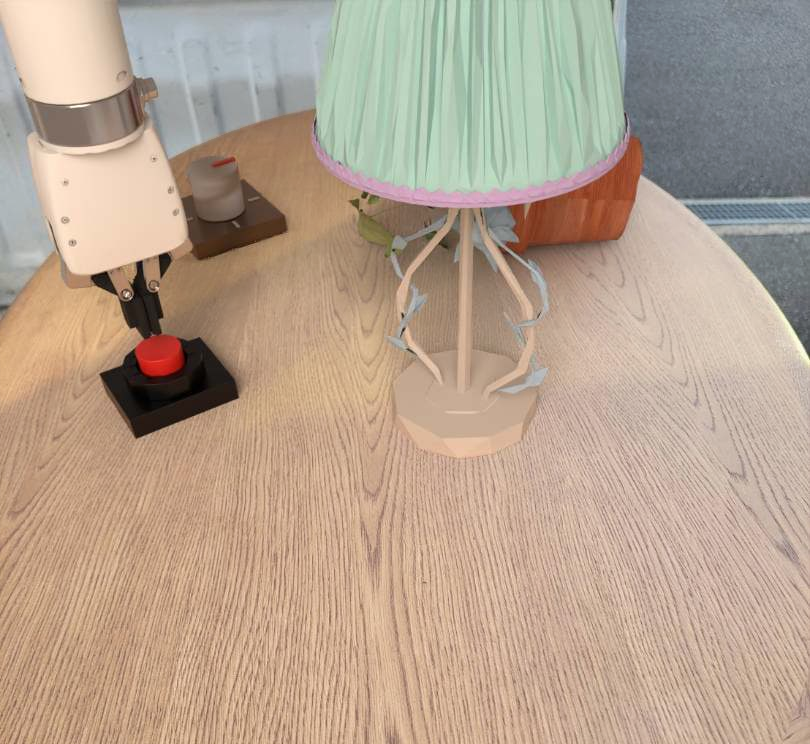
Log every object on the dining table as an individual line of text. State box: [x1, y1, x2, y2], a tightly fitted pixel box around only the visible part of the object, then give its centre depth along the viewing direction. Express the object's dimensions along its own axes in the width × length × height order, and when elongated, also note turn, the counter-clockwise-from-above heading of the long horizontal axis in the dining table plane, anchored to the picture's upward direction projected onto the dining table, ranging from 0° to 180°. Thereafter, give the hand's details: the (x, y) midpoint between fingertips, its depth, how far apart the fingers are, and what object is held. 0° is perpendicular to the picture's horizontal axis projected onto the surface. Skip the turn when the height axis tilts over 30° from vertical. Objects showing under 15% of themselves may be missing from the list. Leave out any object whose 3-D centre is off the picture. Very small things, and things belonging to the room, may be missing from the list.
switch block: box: [99, 336, 240, 440], centre depth 79 cm, size 10×8×4 cm
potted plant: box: [348, 135, 644, 258], centre depth 91 cm, size 16×15×35 cm
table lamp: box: [310, 0, 632, 460], centre depth 63 cm, size 22×22×40 cm
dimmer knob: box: [186, 155, 245, 222], centre depth 98 cm, size 6×6×5 cm
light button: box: [135, 334, 185, 376], centre depth 77 cm, size 4×4×2 cm
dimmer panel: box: [181, 178, 288, 261], centre depth 101 cm, size 11×11×2 cm
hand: (147, 328), depth 76 cm, fingers closed
